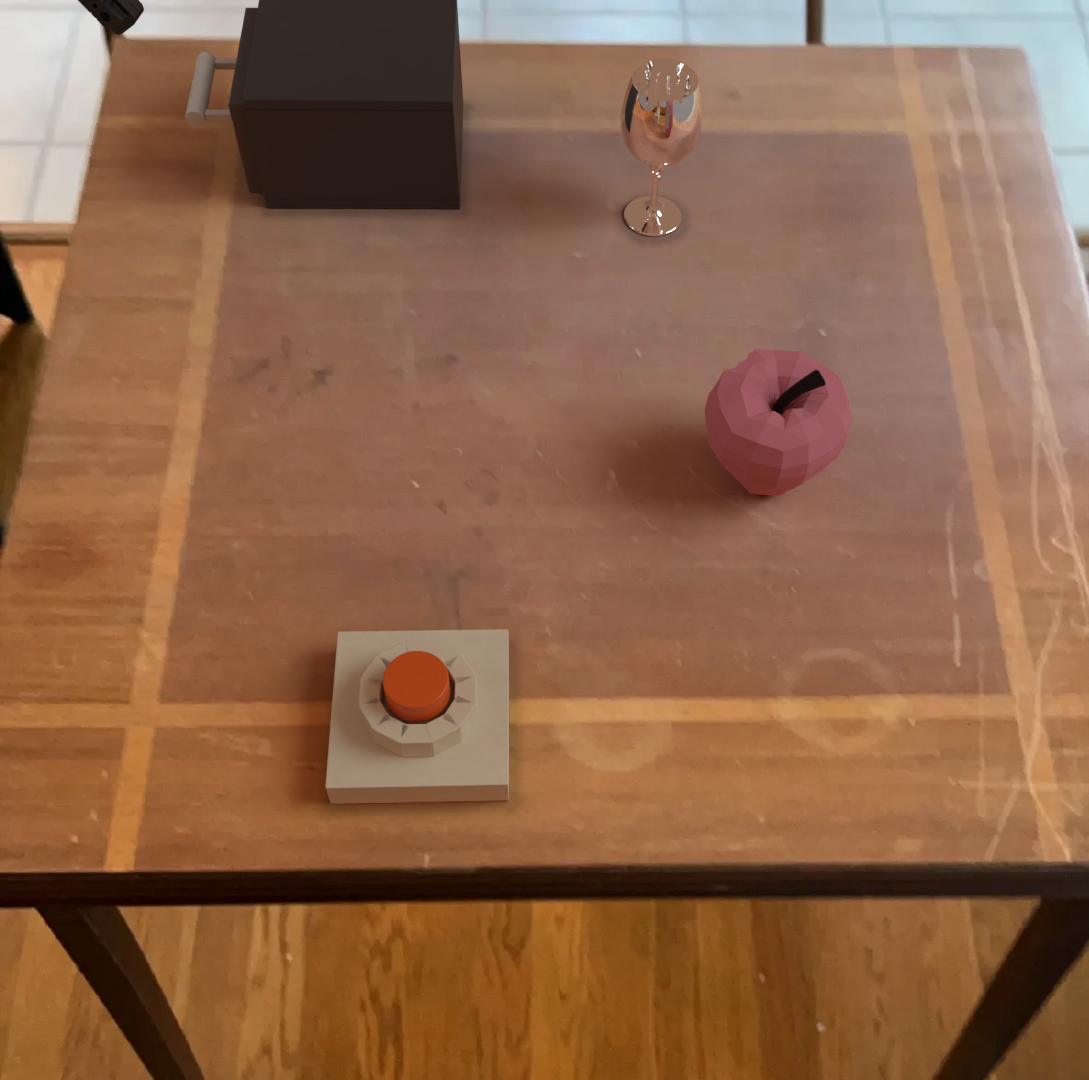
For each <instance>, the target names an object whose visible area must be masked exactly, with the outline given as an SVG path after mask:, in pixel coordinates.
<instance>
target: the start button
mask: <svg viewBox="0 0 1089 1080" xmlns="http://www.w3.org/2000/svg"><path fill="white" fill-rule="evenodd" d="M383 688H384V692H385V697H386V701H387V704H388V706H389V708H390V709H391V711H392V712H393V713H394V714H395V715H397V716H398V717H400V718H402V719H404V720H407V721H412V722H420V721H426V720H429V719H431V718H433V717H435V716H437V715H438V714H439V713H441V712H442V711H443V709H444V708H445V707H446V705H447V704H448V701H449V698H450V683H449V675H448V671H447V668H446V666H445V664H444V663H443V662H442V661H441V660H440V659H439V658H438V657H437V656H435V655H433V654H431V653H428V652H424V651H410V652H406V653H404V654H401V655H399V656H398V657H396V658H395V659H393V660H392V661H391V662H390V664H389V665H388V666H387V668H386V670H385V672H384V675H383Z"/></svg>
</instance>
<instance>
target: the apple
mask: <svg viewBox="0 0 1089 1080" xmlns="http://www.w3.org/2000/svg"><path fill="white" fill-rule="evenodd" d="M704 417H705V424H706V432H707V433H706V434H707V440H708V446H709V448H710V449H711V451H712V452H713V453H714V456H716V457H715V458H717V460H718V462H719V463H720V464H721V466H722V467H723V468H724V469H725V470H726V472H727V473H729V474H730V475H731V476H733V477H734V479H735V480H736V481H737V482H738V483H739V484H740V485H741V486H742V487H743V488H744V489H745V490H746V491H747V492H748V493H749V494H751V495H762V496H763V495H764V496H778V497H779V496H780V495H783V494H785V493H787V491H791V490H793V489H796V488H797V487H800V486H801V485H803V484H804V483H806V482H808V481H809V480H811V479H813V478H814V477H815V476H817V475H818V474H819V473H821V472H822V471H824V470H825V469H826V468H827V467H829V465H831V464H832V463H833V462H834V461H835V460H836V459H838V457H839V455H840V454H841V452H842V451H843V449H844V447H845V445H846V442H847V438H848V435H849V432H850V429H851V427H852V426H851V425H852V421H853V413H852V409H851V406H850V402H849V399H848V396H847V391H846V389H845V386H844V383H843V380H842V379H841V378H840V377H839V376H838V375H837V374H835V372H833V371H832V370H831V369H830V368H829V367H828V366H827V365H825V364H824V363H822V362H820V361H819V360H817V359H815V358H813V357H812V356H810V355H808V354H806V353H805V352H803V351H801V350H781V349H780V350H779V349H777V350H776V349H766V348H755V349H754V350H752V351H751V352H749V353H748V354H747V358H745V360H743V361H739V362H738V363H737V365H736V366H734V367H731V368H727V369H723V370H722V372H721V375H720V376H719V378H718V380H717V381H716V383H715V384H714V386H713V388H712V389H711V390H710V391H709V393H708V395H707V398H706V402H705V407H704Z"/></svg>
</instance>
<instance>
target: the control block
mask: <svg viewBox="0 0 1089 1080" xmlns="http://www.w3.org/2000/svg"><path fill="white" fill-rule="evenodd" d="M509 634H510V633H509V629H506V628H503V629H435V630H434V629H431V630H429V629H427V630H425V629H424V630H423V629H422V630H420V629H419V630H366V631H365V630H358V631H357V630H356V631H355V630H354V631H353V630H351V631H337V637H336V638H337V639H336V650H335V662H334V675H333V685H332V686H333V687H332V697H331V698H332V699H331V711H330V723H329V735H328V749H327V760H326V774H325V785H324V788H325V791H326V794H327V797H328V800H329V803H330V804H331V805H342V804H343V805H344V804H347V805H349V804H392V803H393V804H395V803H396V804H397V803H400V804H401V803H438V802H439V803H442V802H443V803H444V802H447V803H448V802H487V801H488V802H491V801H497V802H498V801H510V639H509V638H510V637H509ZM410 651H424V652H428V653H431V654H433V655H435V656H437V657H438V658H439V659H440V660H441V661H442V662H443V663H444V664H445V666H446V668H447V671H448V675H449V683H450V698H449V701H448V704H447V705H446V707H445V708H444V709H443V711H442V712H441V713H439V714H438V715H437V716H435V717H433V718H431V719H429V720H426V721H420V722H412V721H407V720H404V719H402V718H400V717H398V716H397V715H395V714H394V713H393V712H392V711H391V709H390V708H389V706H388V704H387V701H386V697H385V692H384V688H383V675H384V672H385V670H386V668H387V666H388V665H389V664H390V662H391V661H392V660H393V659H395V658H396V657H398V656H399V655H401V654H404V653H406V652H410Z"/></svg>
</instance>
